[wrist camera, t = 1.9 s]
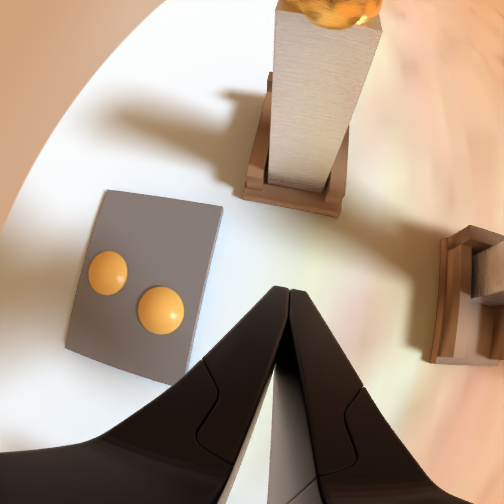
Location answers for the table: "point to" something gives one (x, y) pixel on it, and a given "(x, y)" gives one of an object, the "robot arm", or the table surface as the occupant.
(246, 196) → the track
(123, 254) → the pattern card
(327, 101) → the lever
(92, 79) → the table surface
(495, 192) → the table surface
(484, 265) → the lever
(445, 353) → the track
